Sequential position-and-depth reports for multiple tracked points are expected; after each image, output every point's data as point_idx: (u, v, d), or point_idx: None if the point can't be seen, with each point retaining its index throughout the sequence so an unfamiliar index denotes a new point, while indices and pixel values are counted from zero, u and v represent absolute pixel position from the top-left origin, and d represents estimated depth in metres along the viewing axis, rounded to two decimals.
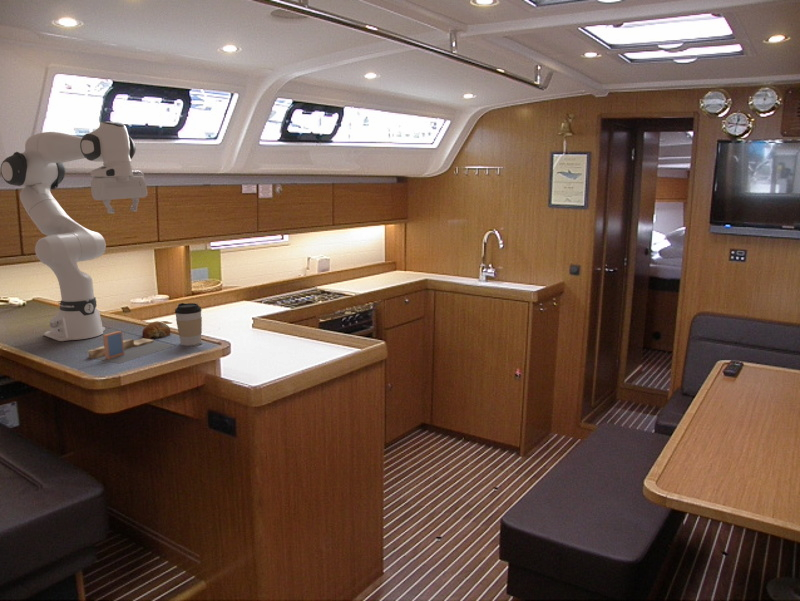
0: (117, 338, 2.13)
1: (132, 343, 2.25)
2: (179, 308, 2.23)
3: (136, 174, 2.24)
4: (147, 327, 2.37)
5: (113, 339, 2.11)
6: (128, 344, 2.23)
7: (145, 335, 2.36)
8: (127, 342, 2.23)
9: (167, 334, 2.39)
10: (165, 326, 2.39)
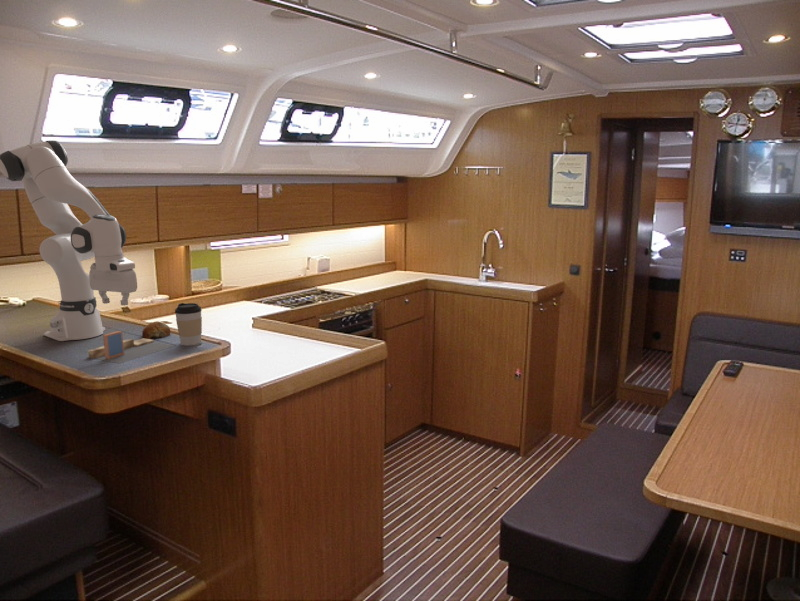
0: (117, 338, 2.13)
1: (132, 343, 2.25)
2: (179, 308, 2.23)
3: None
4: (147, 327, 2.37)
5: (113, 339, 2.11)
6: (128, 344, 2.23)
7: (145, 335, 2.36)
8: (127, 342, 2.23)
9: (167, 334, 2.38)
10: (165, 326, 2.39)
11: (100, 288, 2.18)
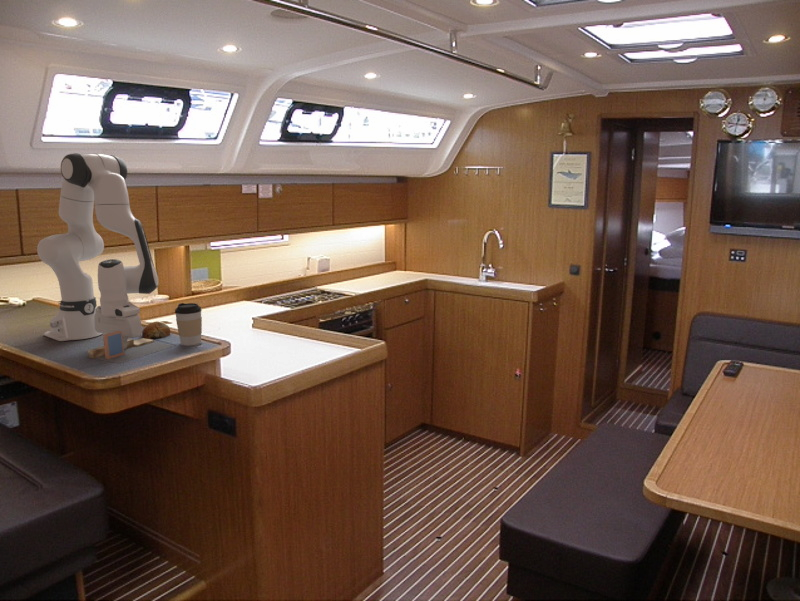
0: (117, 338, 2.13)
1: (132, 343, 2.25)
2: (179, 308, 2.23)
3: None
4: (147, 327, 2.37)
5: (113, 339, 2.11)
6: (128, 344, 2.23)
7: (145, 335, 2.35)
8: (127, 342, 2.23)
9: (167, 334, 2.38)
10: (165, 326, 2.39)
11: (105, 331, 2.21)
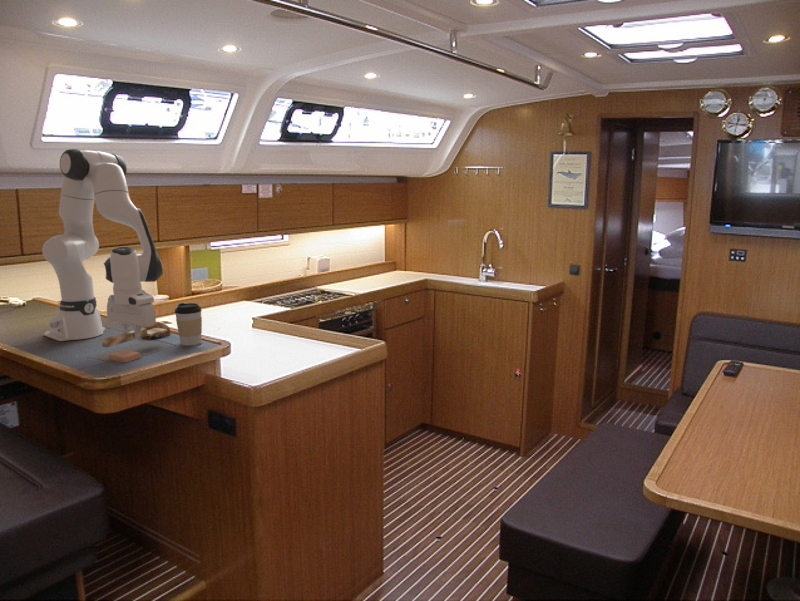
0: None
1: (145, 332, 2.20)
2: (179, 308, 2.23)
3: None
4: (147, 327, 2.36)
5: None
6: (141, 333, 2.19)
7: None
8: (140, 331, 2.19)
9: (167, 334, 2.38)
10: (165, 326, 2.39)
11: (118, 321, 2.17)
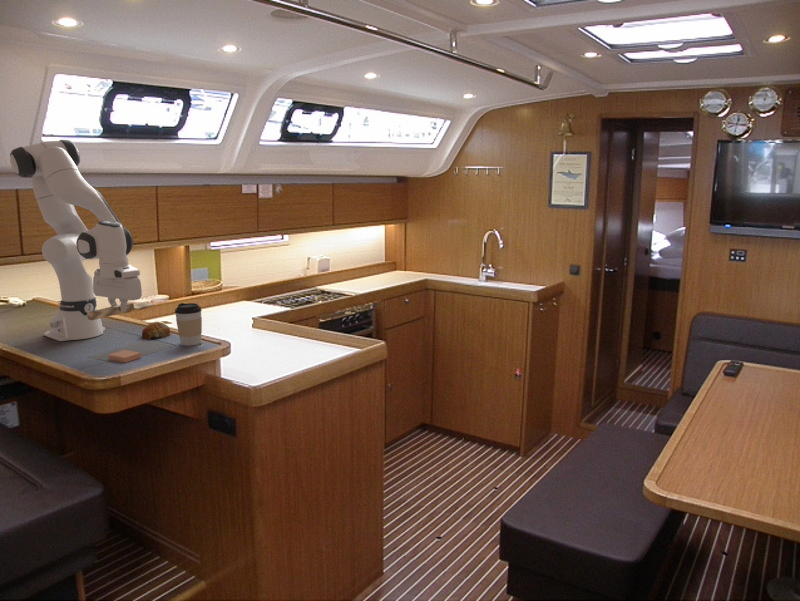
0: None
1: (132, 307, 2.20)
2: (179, 308, 2.23)
3: None
4: (147, 327, 2.36)
5: None
6: (128, 307, 2.19)
7: (145, 335, 2.35)
8: (127, 305, 2.18)
9: (167, 334, 2.38)
10: (165, 326, 2.38)
11: (104, 294, 2.16)
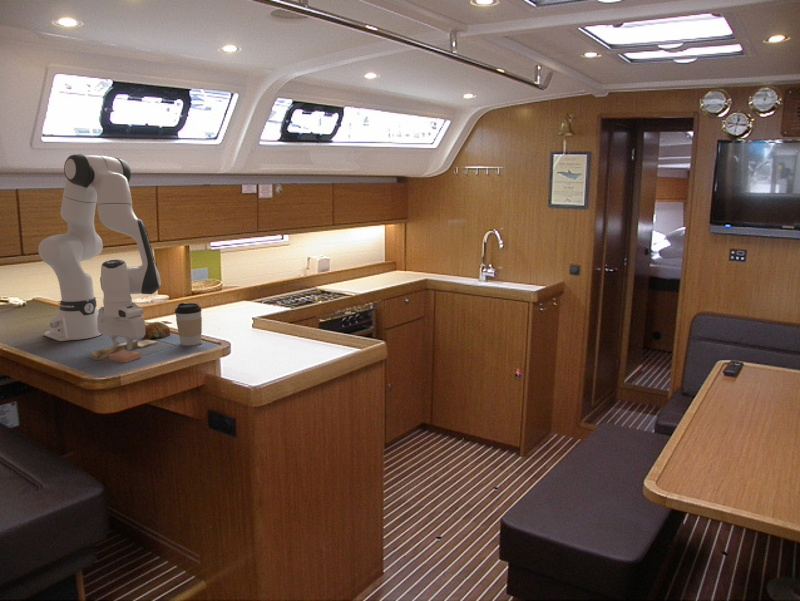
0: None
1: (136, 345, 2.23)
2: (179, 308, 2.23)
3: None
4: (147, 327, 2.36)
5: None
6: (132, 346, 2.21)
7: (145, 335, 2.35)
8: None
9: (167, 334, 2.38)
10: (165, 326, 2.38)
11: (108, 332, 2.19)
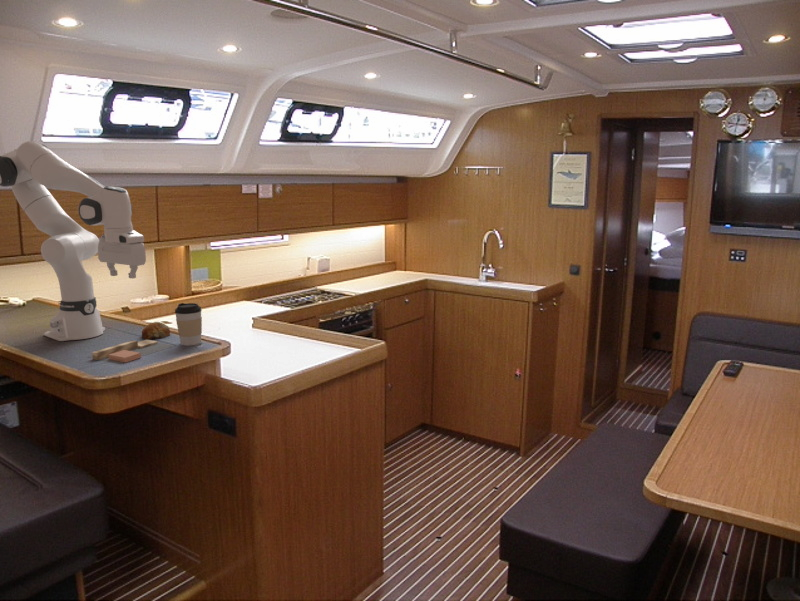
0: None
1: (136, 345, 2.23)
2: (179, 308, 2.23)
3: None
4: (146, 328, 2.36)
5: None
6: (132, 346, 2.21)
7: (144, 336, 2.35)
8: (131, 344, 2.21)
9: (167, 335, 2.38)
10: (165, 327, 2.38)
11: (108, 260, 2.18)
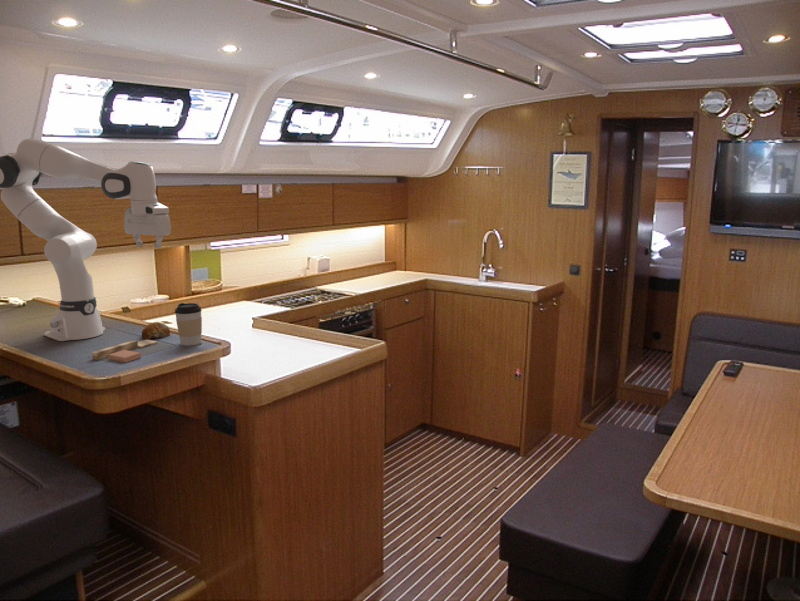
0: None
1: (136, 345, 2.23)
2: (179, 308, 2.23)
3: None
4: (146, 328, 2.36)
5: None
6: (132, 346, 2.21)
7: (144, 336, 2.35)
8: (131, 344, 2.21)
9: (167, 335, 2.38)
10: (164, 327, 2.38)
11: (135, 232, 2.29)
